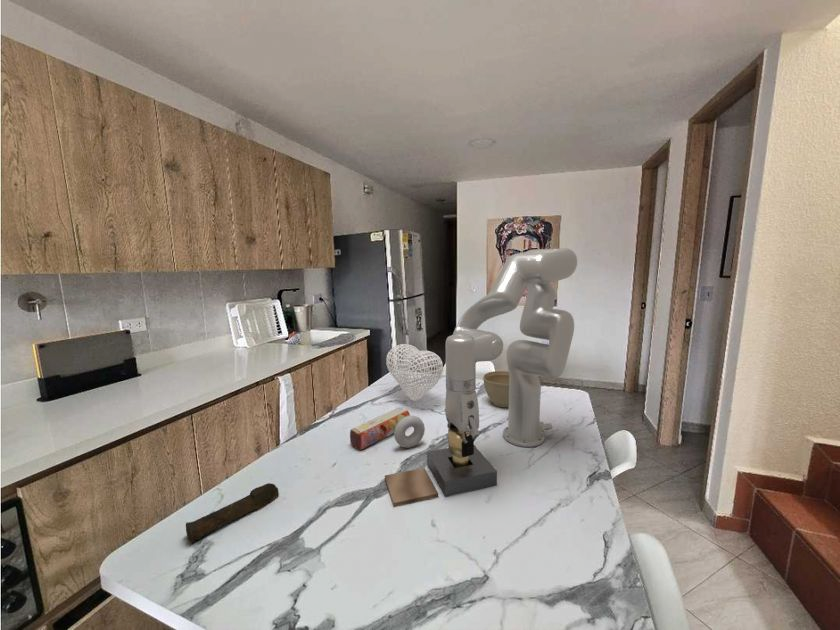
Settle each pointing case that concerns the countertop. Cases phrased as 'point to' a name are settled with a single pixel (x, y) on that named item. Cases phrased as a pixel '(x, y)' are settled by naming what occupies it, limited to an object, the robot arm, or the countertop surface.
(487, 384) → the planter bowl
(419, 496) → the board
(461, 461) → the end cover
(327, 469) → the countertop surface
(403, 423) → the donut
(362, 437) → the snack package
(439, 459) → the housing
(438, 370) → the heart
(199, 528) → the hand tool
